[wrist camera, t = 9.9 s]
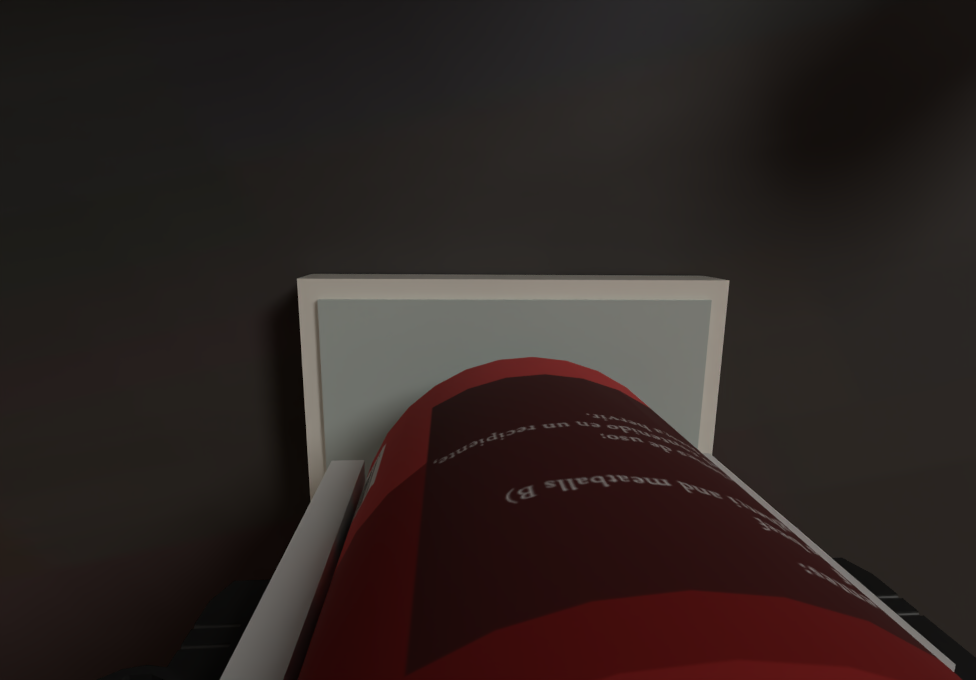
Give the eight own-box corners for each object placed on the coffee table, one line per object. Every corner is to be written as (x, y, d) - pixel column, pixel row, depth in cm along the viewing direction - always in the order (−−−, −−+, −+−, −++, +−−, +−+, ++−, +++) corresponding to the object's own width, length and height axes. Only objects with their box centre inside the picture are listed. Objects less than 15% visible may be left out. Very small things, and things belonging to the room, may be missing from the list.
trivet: (312, 273, 15) (295, 279, 13) (702, 275, 15) (732, 280, 14) (331, 625, 17) (319, 667, 15) (672, 611, 18) (694, 650, 16)
